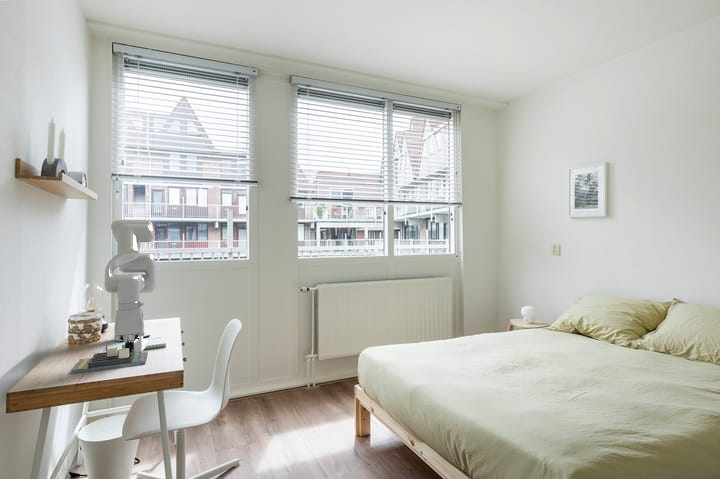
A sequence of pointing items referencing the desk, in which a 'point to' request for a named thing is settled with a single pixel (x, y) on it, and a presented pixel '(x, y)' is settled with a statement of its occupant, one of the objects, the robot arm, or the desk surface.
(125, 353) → the breaker handle
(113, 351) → the handle
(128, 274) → the robot arm
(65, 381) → the desk surface
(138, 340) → the bracket
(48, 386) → the desk surface
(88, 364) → the breaker panel
